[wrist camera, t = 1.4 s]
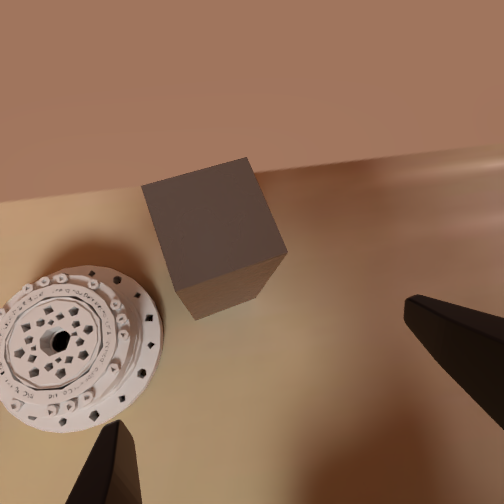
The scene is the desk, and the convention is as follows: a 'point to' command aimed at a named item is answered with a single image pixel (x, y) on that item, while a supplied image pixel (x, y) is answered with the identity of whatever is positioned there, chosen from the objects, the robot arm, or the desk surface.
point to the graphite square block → (215, 235)
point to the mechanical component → (77, 348)
